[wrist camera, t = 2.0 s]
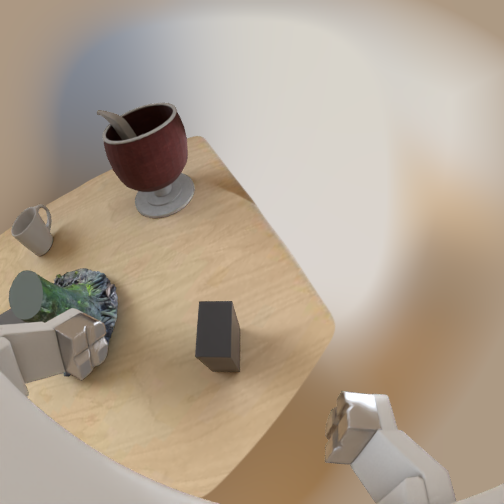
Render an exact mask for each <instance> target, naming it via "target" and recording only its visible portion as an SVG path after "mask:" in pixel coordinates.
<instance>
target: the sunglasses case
mask: <svg viewBox="0 0 504 504" xmlns="http://www.w3.org/2000/svg"><path fill="white" fill-rule="evenodd" d="M195 357H196V358H198V359H199V360H200V361H201V362H202V363H203V364H204V365H206V366H207V367H208V368H209V369H210V370H211V371H214V372H240V327H239V323H238V320H237V316H236V313H235V310H234V306H233V303H232V301H202V302H199V311H198V324H197V338H196V354H195Z"/></svg>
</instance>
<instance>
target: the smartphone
mask: <svg viewBox="0 0 504 504" xmlns="http://www.w3.org/2000/svg"><path fill="white" fill-rule="evenodd" d="M20 323H26V322H24V321H23V320H21V319H19V318H18V317H16V316H15V314H14V313H13V312H12V309H9V310H8V311H6V312H4V313H3V314H1V315H0V325H7V324H20Z"/></svg>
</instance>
